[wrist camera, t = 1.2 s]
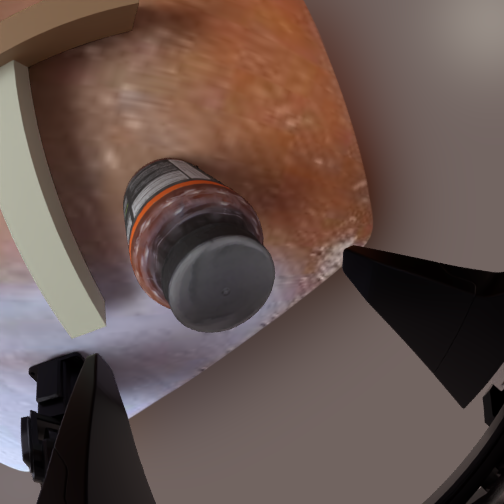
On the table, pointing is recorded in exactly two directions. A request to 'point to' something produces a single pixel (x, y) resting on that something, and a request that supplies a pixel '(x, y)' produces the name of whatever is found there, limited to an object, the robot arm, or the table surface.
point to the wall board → (33, 157)
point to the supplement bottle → (196, 246)
